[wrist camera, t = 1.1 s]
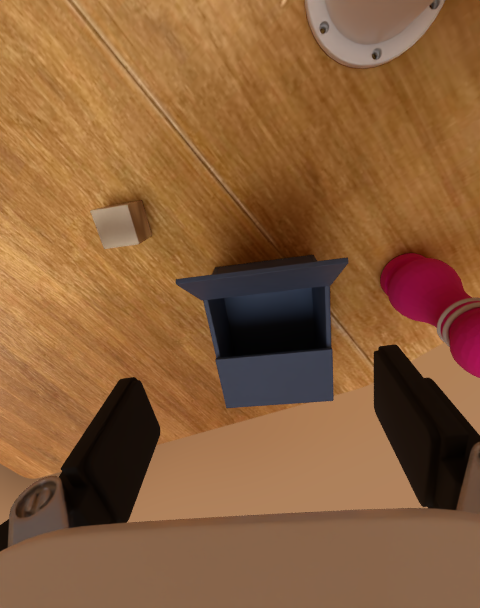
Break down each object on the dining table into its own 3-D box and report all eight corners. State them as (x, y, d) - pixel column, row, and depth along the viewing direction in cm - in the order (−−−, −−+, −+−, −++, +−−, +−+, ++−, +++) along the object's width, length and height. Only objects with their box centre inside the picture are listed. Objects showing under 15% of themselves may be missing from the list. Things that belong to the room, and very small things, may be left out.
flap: (201, 300, 29) (201, 296, 29) (331, 285, 28) (330, 281, 28) (175, 284, 22) (175, 279, 22) (348, 262, 20) (347, 257, 21)
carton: (214, 267, 38) (200, 299, 29) (313, 254, 37) (331, 284, 28) (233, 358, 45) (226, 408, 35) (318, 350, 43) (333, 401, 34)
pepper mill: (386, 309, 40) (492, 429, 22) (368, 265, 37) (470, 359, 19) (441, 286, 38) (607, 396, 20) (425, 238, 35) (600, 314, 17)
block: (108, 205, 36) (90, 210, 32) (142, 200, 35) (127, 204, 31) (120, 240, 38) (103, 249, 34) (152, 235, 37) (139, 244, 33)
